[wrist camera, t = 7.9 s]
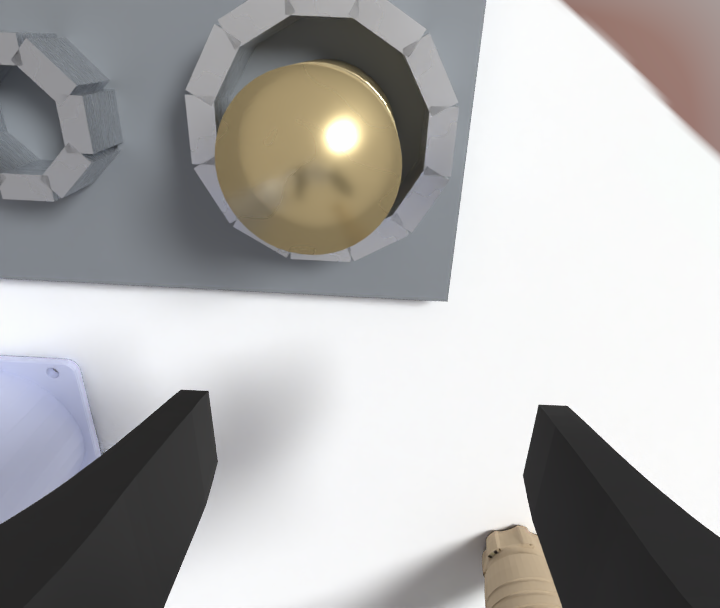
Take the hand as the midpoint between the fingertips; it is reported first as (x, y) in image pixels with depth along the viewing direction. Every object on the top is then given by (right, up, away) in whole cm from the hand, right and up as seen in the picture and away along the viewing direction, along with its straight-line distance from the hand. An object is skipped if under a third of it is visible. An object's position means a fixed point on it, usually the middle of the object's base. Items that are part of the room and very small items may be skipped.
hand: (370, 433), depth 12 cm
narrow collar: (-10, +9, +6) cm, 15 cm away
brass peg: (-1, +8, +5) cm, 10 cm away
